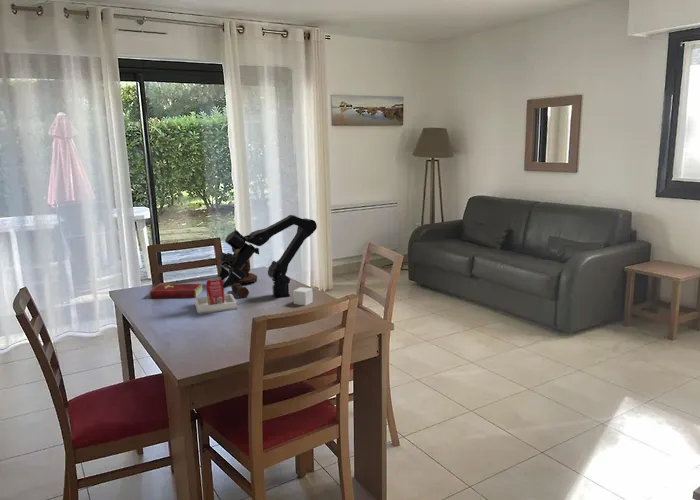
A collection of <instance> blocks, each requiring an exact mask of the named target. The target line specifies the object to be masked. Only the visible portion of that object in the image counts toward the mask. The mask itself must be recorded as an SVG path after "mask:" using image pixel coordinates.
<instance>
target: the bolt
mask: <svg viewBox="0 0 700 500" xmlns="http://www.w3.org/2000/svg"><path fill="white" fill-rule="evenodd" d="M230 287H231V291H232V292H233V293H234V294H236V295H237V297H238V299H247V298H248V296H249V294H250V290H249V289H248V288H247V287H246V286H242V284H241V285H240V284H239V283H233V284H231V285H230Z"/></svg>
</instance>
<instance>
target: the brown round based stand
mask: <svg viewBox="0 0 700 500" xmlns="http://www.w3.org/2000/svg"><path fill="white" fill-rule="evenodd" d="M239 250H240V249H237V250H235V249H234V248H232V247H231V251H232V253H233V254H237V252H238V251H239ZM250 259H251V258H250ZM250 259H249V260H248V261H247V262H248V264H247V265H246V264H245V265H244V266H243V268H242V269H241V270H242V271H244V272H245V273H246V277H245V278H244V279H241V278H240V279H241V280H240V281H238V282H235V283H234V284H237V283H239V284H240V285H241V286H242V284H243V283H244V284H246V283H250V282H251V283H252V282H255V283H256V282H258V275H257V274H255V273H251V272H250V271H251V262H250Z"/></svg>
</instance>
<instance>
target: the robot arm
mask: <svg viewBox="0 0 700 500" xmlns="http://www.w3.org/2000/svg"><path fill="white" fill-rule="evenodd" d="M294 225H295V226H297V228H296V229H297V230H296V234H295V235H294V237H293V239H292V240H291V241H290V243H289V244H288V246H287V247H286V248H285V250H284V252H283V254H281V257H280V258H279V259H277V261H275V260H273V261H271V264H270V265H269V266H268V267H267V268H268V270H267V275H268V277H269V278H270V279H271V280H272V282H273V285H272V295H273V297H275V299H277V298H287V297H291V293H290V292H289V291H290V290H289V287H290V286H289V284H290V281H291V278H290V277H289V276H287V275H286V274H287V273H288V269H289V264H290V263H291V262H292V260H293V259H294V257H295V255H296V254H297V252H298V251H299V250H300V248H301V246H302V245H303V243H304V242H305V240H306V239H307V238H309V237H310V236H312V235H313V233H314V232H316V230H317V228H318V227H317V225H318V224H317V222H316V221H315V220H314V219H311V218H306V217H305V218H301V217H299V216H296V215H295V214H294V215H293V214H289V215H287V216H286V217H284V218H282V219H280V220H278V221H277V222H275V223H273V224H271V225H269V226H268V227H266V228H262V229H257V230H254V231H252V232H250V233H249V234H247V235H244V236H243V234H241V233H240V232H239V231H238V230H237V229H234V230H233V231H232V232H230V233H229V234H228V235H227V236H226V237H225V239H224V241H225V243H226V244H227V245H228V246H230V247H231V249H232V248H234V249H235V250H237V249H240V250H239V251H238V252H237V254H234V253H230V252H227V253H226V252H223V251H220V253H219V255H218V260H220V262H219V264H220V265H219V268H220V271H219V274H218V276H217V277H221V279H222V281H224V280H225V281H224V282H223V287H224V289H226V288H228V287H231V286H232V284H236V283H235V282H238V281H240V280H241V279H244V278H245V277H246V273H245V272H244V271H242V270H241V269H242V268H243V266H244V265H245V264H246V265H247V264H248V262H247V261H248V260H249V259H251V258H252V256H253V255H254V254H256V255H260V248H258V247H262V246H264V244H266V243H267V242H268V241H269V240H270V239H271V238H272V237H273V236H275V235H277V234H279V233H280V232H282V231H284V230H287V229H288V228H290V227H292V226H294ZM255 246H257V247H255ZM240 278H241V279H240Z"/></svg>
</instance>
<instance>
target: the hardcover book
mask: <svg viewBox="0 0 700 500" xmlns="http://www.w3.org/2000/svg"><path fill="white" fill-rule="evenodd" d="M203 285H204V283H158V284H157V285H156V286H155V287H153V288H152V289H150V290H149V298H150V299H185V298H186V299H187V298H188V299H191V298H193V299H194V298H197V297H198V296H199V295H200V294H201V293H202V292H203Z"/></svg>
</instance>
